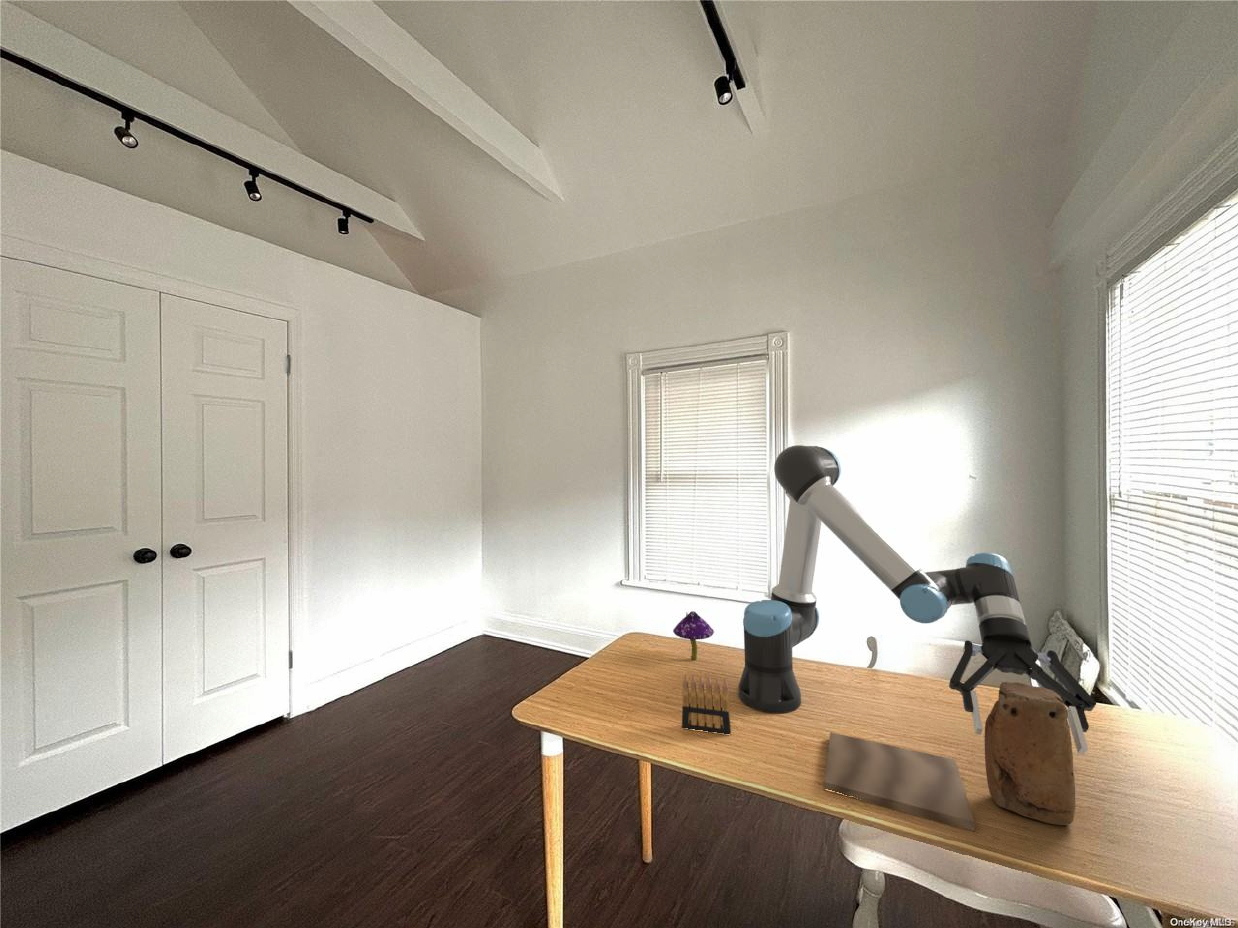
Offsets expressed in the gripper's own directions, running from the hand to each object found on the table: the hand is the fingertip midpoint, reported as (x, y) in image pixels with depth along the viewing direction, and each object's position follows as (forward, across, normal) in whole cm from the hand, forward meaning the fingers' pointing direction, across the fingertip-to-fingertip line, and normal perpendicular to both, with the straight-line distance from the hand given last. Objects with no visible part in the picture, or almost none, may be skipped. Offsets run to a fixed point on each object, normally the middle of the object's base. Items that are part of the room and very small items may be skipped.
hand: (1028, 741), depth 79 cm
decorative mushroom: (-18, +71, -34) cm, 81 cm away
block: (+8, 0, -8) cm, 12 cm away
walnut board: (+9, +20, -7) cm, 23 cm away
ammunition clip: (+8, +56, -8) cm, 58 cm away
